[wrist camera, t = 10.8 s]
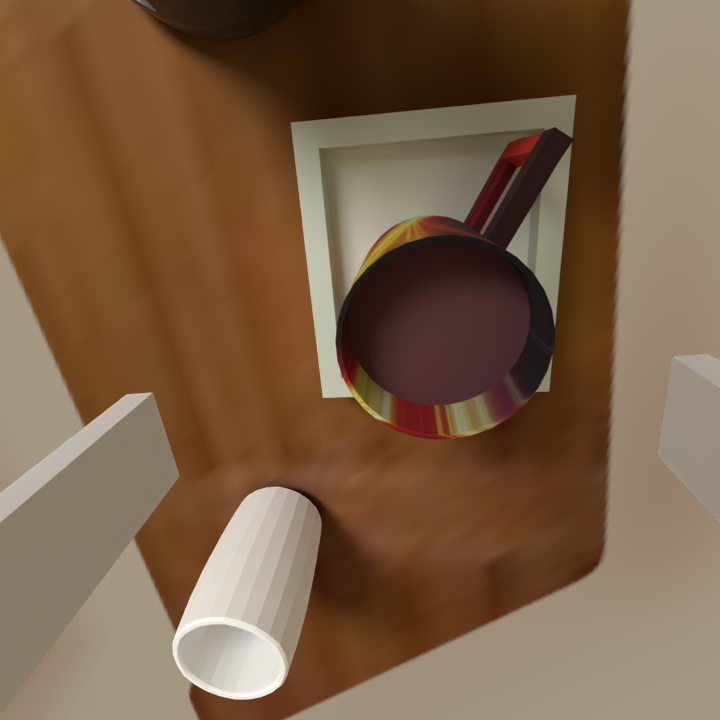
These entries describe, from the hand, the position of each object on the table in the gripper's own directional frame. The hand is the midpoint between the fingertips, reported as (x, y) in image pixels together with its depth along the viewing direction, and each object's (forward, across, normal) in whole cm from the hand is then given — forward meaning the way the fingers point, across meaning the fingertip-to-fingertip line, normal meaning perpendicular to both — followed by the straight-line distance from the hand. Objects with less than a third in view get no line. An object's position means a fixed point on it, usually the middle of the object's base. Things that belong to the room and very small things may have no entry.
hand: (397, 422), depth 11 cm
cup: (+23, -13, -22) cm, 34 cm away
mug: (+21, +2, +1) cm, 21 cm away
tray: (+23, +2, 0) cm, 23 cm away
